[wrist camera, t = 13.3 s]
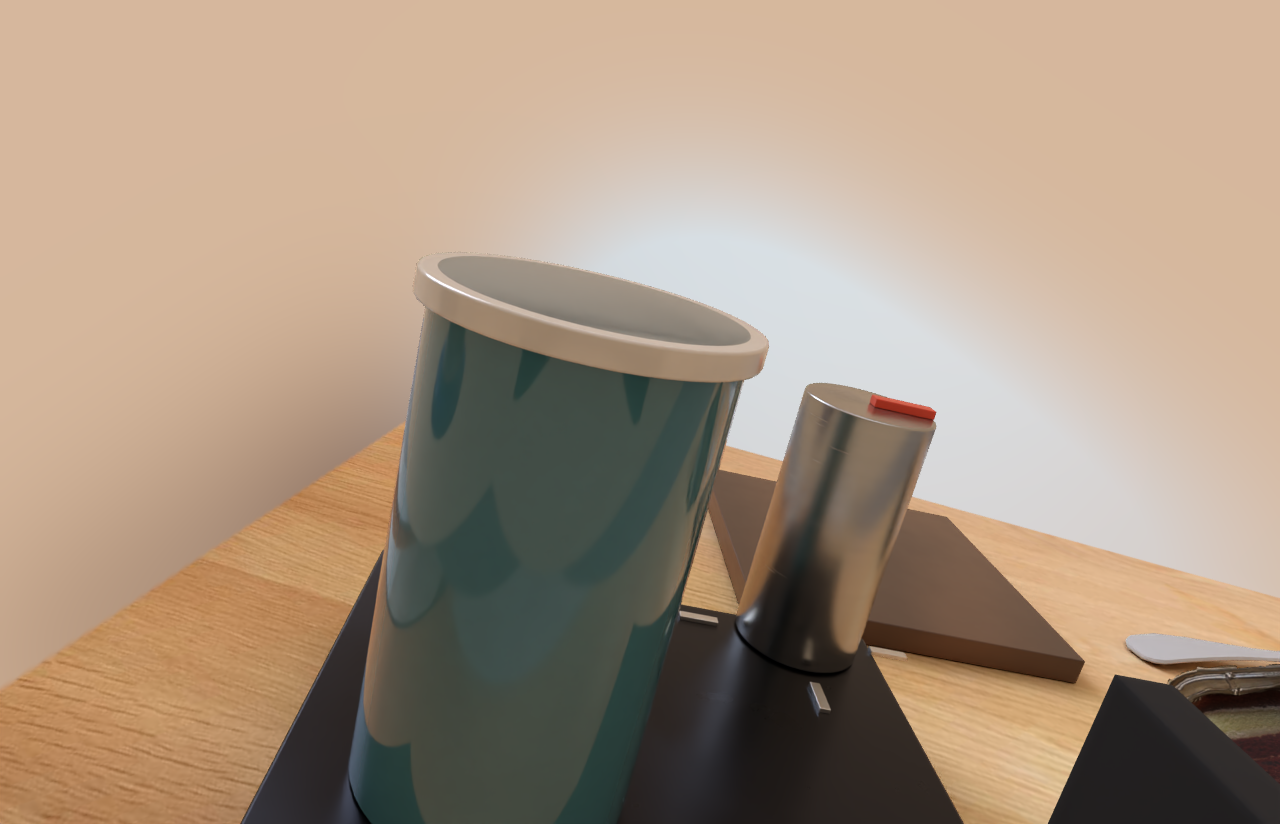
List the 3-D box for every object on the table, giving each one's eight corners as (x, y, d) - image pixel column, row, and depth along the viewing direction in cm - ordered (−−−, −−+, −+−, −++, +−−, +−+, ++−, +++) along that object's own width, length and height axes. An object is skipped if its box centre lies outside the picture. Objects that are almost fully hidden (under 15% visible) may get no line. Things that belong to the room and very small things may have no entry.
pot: (289, 864, 17) (376, 284, 14) (377, 655, 24) (449, 238, 21) (645, 915, 18) (807, 380, 15) (630, 699, 25) (738, 305, 22)
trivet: (743, 621, 38) (751, 597, 37) (700, 484, 53) (705, 466, 52) (1075, 683, 39) (1085, 661, 39) (941, 533, 55) (947, 516, 54)
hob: (202, 981, 18) (217, 860, 17) (391, 577, 34) (403, 506, 33) (1057, 1088, 20) (1110, 987, 19) (847, 661, 36) (869, 596, 36)
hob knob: (746, 661, 29) (827, 401, 26) (726, 595, 33) (795, 365, 30) (870, 683, 29) (961, 430, 27) (835, 616, 33) (911, 391, 31)
